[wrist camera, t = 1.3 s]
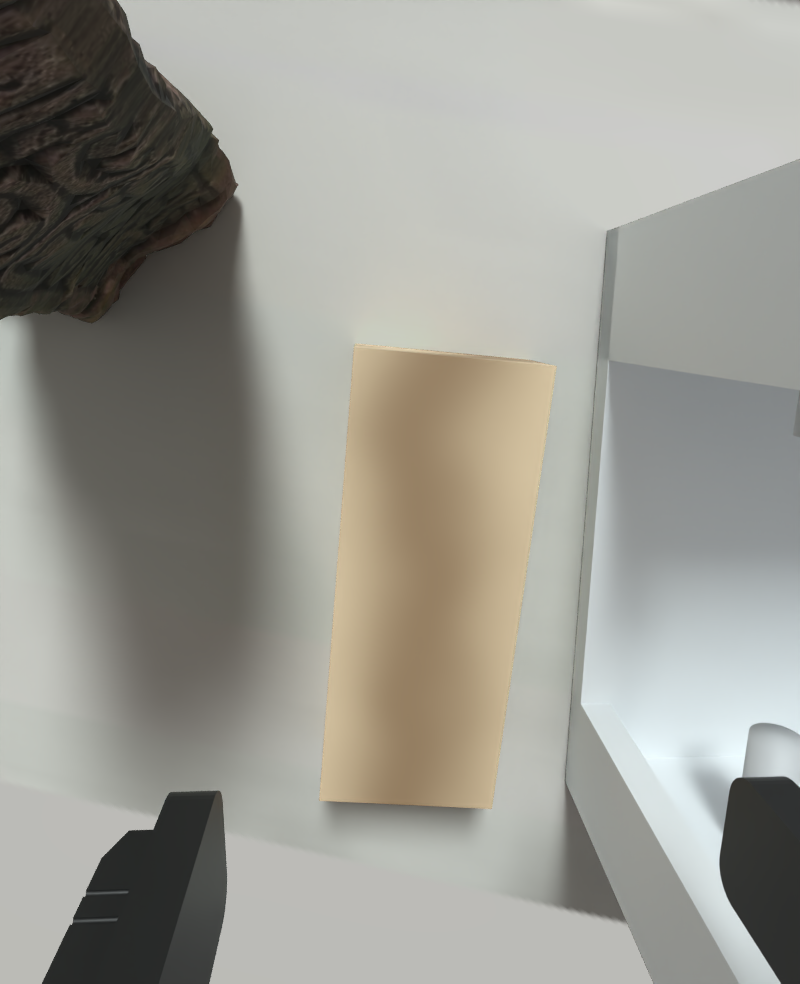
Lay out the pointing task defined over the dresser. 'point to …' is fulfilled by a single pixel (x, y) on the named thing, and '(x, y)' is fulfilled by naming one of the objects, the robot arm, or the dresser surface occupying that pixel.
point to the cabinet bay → (691, 562)
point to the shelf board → (430, 572)
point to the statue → (92, 158)
